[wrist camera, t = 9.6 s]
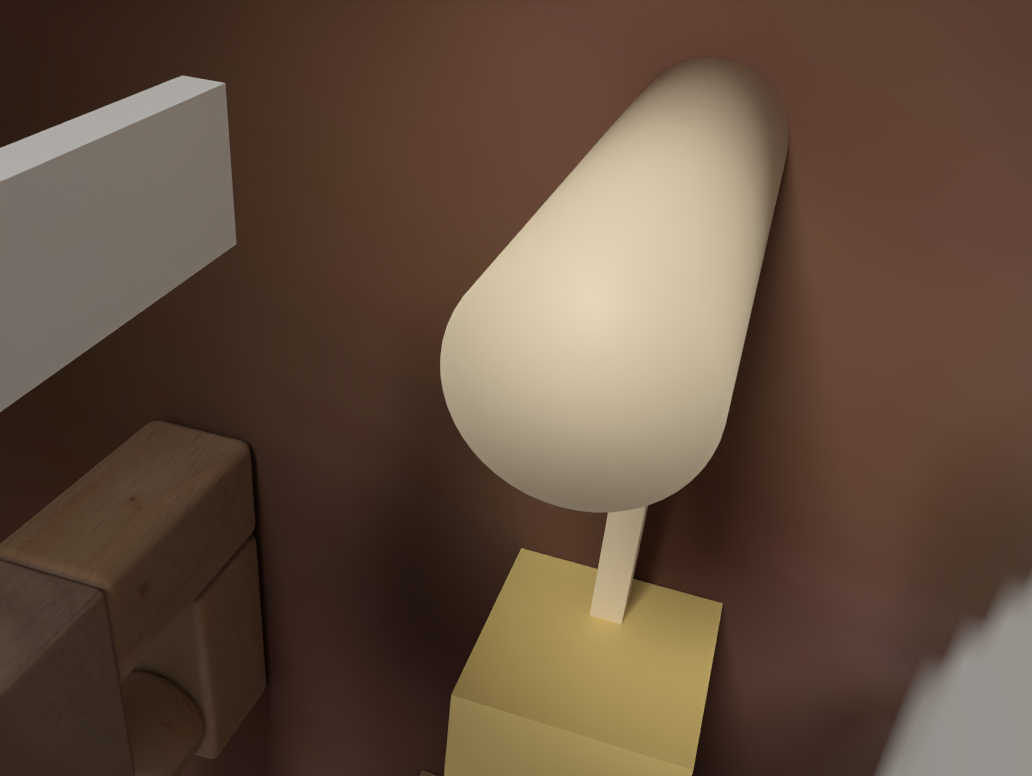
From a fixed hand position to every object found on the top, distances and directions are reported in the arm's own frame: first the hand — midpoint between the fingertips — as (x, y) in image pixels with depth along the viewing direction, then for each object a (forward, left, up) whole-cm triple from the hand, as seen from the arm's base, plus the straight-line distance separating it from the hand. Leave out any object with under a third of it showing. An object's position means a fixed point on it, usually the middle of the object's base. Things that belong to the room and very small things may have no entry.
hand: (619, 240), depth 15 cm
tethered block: (+10, 0, -8) cm, 13 cm away
